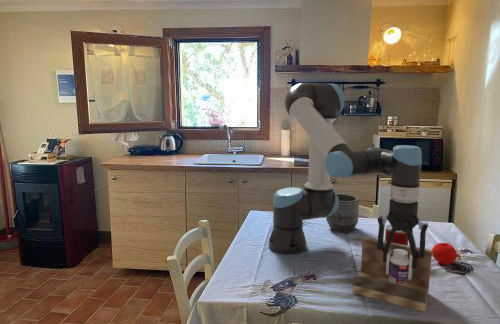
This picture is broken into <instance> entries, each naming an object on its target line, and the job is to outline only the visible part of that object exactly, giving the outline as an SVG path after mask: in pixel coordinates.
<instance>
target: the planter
mask: <svg viewBox="0 0 500 324" xmlns="http://www.w3.org/2000/svg"><path fill="white" fill-rule="evenodd" d="M337 194H338V195H337V196H338V198H339V204H338V208H337V210H336V212H335V213H334V214H333V215H331V216H327V217H325V220H326V223H327V225H328V226H329V228H330V229H331V230H332V231H335V232H336V231H337V232H338V233H350V231H351V232H352V231H353V230H354V229H355V228H356V226H357V224H358V223H359V211H360V210H359V208H360V198H359V197H358V196H357V195H354V194H350V193H337Z"/></svg>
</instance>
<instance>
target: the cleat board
mask: <svg viewBox="0 0 500 324" xmlns="http://www.w3.org/2000/svg"><path fill="white" fill-rule="evenodd" d="M386 242H387V241H385V240H383V245H384V246H385V245H386ZM377 243H378V239H375V238H369V237H365V236H364V237H363V238H362V241H361V259H360V260H361V261H360V273H359V274H353V277H352V293H353V294H357V295H360V296H364V297H368V298H371V299H374V300H379V301H382V302H386V303H389V304H390V303H391V304H394V305H397V304H398V305H397V306H400V307H404V306H406V307H405V308H408V307H410V308H409V309H412V308H414V309H413V310H415V309H417V310H416V311H419V310H421V311H420V312H423V311H425V312H426V309H427V303H428V297H429V291H430V290H429V289H430V281H431V280H430V278H431V268H432V267H431V265H432V257H433V254H432V249H429V248H425V255H424V258H418V259H417V267H416V269H414V268H412V277H411V280H409V279H408V284H407V285H406V286H401V285H397V284H393V283H390V282H389V275H387V274H386V263H385V262H383V251H382V250H378V249H377ZM416 248H417V252H420V246H419V247H418V246H416ZM394 249H402V250H405V251H407V252H408V257H407V259H408V260H409V258H410V255H412V253H411V249H410V245H409V244H408V245H403V244H397V243H392V242H391V245H390V247H389V250H388V251H391V257H392V256H393V250H394Z"/></svg>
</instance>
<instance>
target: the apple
mask: <svg viewBox="0 0 500 324" xmlns="http://www.w3.org/2000/svg"><path fill="white" fill-rule="evenodd" d="M431 250H432V257H433V258H434V259H435V260H436V262H437V263H439V264H441V265H444V266H448V265H450V264H452V263H454V262H455V261H456V259H457V257H458V252H457V251H456V249H455V247H454V246H453V245H452V244H449V243H447V242H438V243H437V244H435V245H433V247H432V249H431Z"/></svg>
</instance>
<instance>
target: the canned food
mask: <svg viewBox="0 0 500 324" xmlns="http://www.w3.org/2000/svg"><path fill="white" fill-rule="evenodd" d="M391 229H392V226H391V224H387V225H385V233H384V235H385V236H384V241H387V240H388V237H389V235H390V232H391ZM392 243H397V244H403V245H408V246H409V240H408V236H407V234H406V232H403V231H396V232H395V235H394V237H393V240H392Z"/></svg>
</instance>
